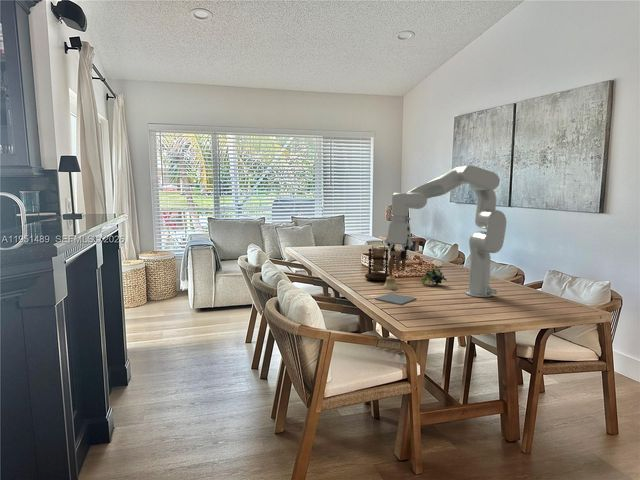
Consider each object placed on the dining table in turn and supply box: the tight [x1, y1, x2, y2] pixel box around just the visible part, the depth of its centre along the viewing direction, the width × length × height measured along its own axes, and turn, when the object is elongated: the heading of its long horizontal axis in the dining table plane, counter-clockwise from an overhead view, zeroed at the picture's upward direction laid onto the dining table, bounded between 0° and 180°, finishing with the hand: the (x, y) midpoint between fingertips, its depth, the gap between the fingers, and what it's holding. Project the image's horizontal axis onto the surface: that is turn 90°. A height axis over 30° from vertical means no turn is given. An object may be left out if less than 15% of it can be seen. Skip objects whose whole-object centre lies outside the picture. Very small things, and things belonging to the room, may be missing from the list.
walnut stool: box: [389, 249, 408, 271], centre depth 195 cm, size 7×5×8 cm
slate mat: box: [374, 292, 417, 306], centre depth 197 cm, size 14×14×1 cm
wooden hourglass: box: [364, 245, 390, 282], centre depth 240 cm, size 15×15×20 cm
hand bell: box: [382, 257, 399, 290], centre depth 220 cm, size 8×8×16 cm
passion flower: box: [420, 267, 447, 287], centre depth 227 cm, size 11×11×12 cm
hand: (398, 258), depth 195 cm, fingers closed on walnut stool, 5 cm apart
